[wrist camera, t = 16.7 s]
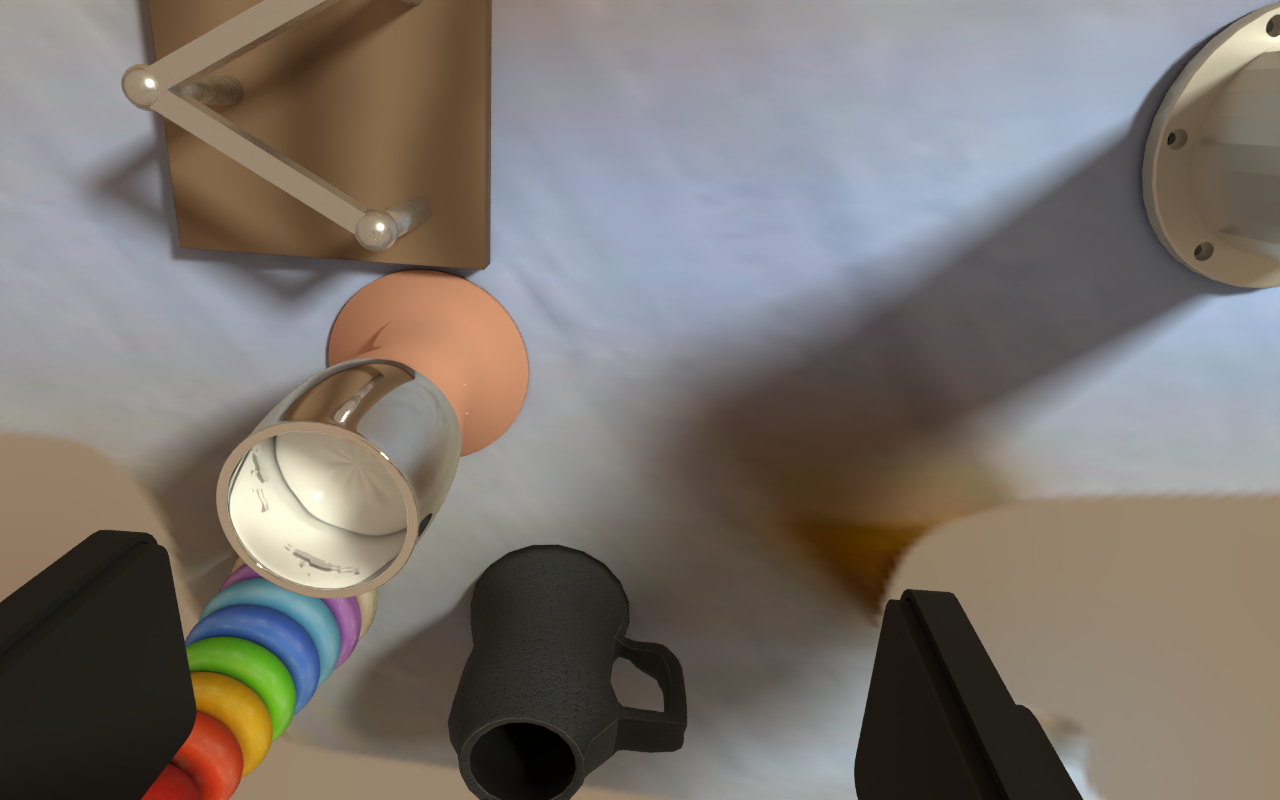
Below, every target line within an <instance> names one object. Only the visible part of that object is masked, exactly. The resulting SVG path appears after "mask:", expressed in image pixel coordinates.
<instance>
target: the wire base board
mask: <svg viewBox="0 0 1280 800" xmlns="http://www.w3.org/2000/svg"><path fill="white" fill-rule="evenodd" d="M262 1H263V0H148V3H149V10H150V18H151V26H152V33H153V41H154V49H155V56H156V62H157V61H159V60H160V59H162V58H164V57H166V56H167V55H169V54H171V53H173V52H174V51H176V50H178V49H180V48H181V47H183V46H185V45H187V44H188V43H190V42H192V41H193V40H195V39H197V38H199V37H200V36H202V35H204V34H206V33H207V32H209V31H211V30H213V29H214V28H216V27H218V26H220V25H221V24H223V23H225V22H227V21H228V20H230V19H232V18H234V17H235V16H237V15H239V14H241V13H242V12H244V11H246V10H248V9H249V8H251V7H253V6H255V5H256V4H258V3H260V2H262ZM491 26H492V0H424V1H423V2H422V3H420V4H418V5H410V4H408V3H405V2H403V1H400V0H340V1H338V2H336V3H335V4H333V5H331V6H329V7H328V8H326V9H324V10H322V11H320V12H319V13H317V14H315V15H313V16H312V17H310V18H308V19H306V20H304V21H303V22H301V23H299V24H297V25H295V26H294V27H292V28H290V29H288V30H287V31H285V32H283V33H281V34H279V35H278V36H276V37H274V38H272V39H271V40H269V41H267V42H265V43H263V44H262V45H260V46H258V47H256V48H255V49H253V50H251V51H249V52H247V53H246V54H244V55H242V56H240V57H239V58H237V59H235V60H233V61H231V62H230V63H228V64H226V65H224V66H223V67H221V68H219V69H217V70H215V71H214V72H212V73H210V74H214V75H229V76H232V77H234V78H236V79H237V80H238V81H239V82H240V83H241V85H242V87H243V92H244V94H243V98H242V100H241V102H239V103H238V104H236V105H205V106H207V107H208V108H210V109H212V110H213V111H215V112H216V113H218V114H219V115H221V116H223V117H224V118H226V119H227V120H229V121H231V122H232V123H234V124H235V125H237V126H239V127H240V128H242V129H243V130H245V131H246V132H248V133H250V134H251V135H253V136H254V137H256V138H258V139H259V140H261V141H262V142H264V143H266V144H267V145H269V146H270V147H272V148H274V149H275V150H277V151H278V152H280V153H281V154H283V155H285V156H286V157H288V158H289V159H291V160H293V161H294V162H296V163H297V164H299V165H301V166H302V167H304V168H305V169H307V170H309V171H310V172H312V173H313V174H315V175H316V176H318V177H320V178H321V179H323V180H324V181H326V182H328V183H329V184H331V185H332V186H334V187H336V188H337V189H339V190H340V191H342V192H344V193H345V194H347V195H348V196H350V197H351V198H353V199H355V200H356V201H358V202H359V203H361V204H363V205H364V206H366V207H367V208H369V209H380V210H383V209H386V208H388V207H391V206H393V205H395V204H398V203H400V202H403V201H405V200H408V199H410V198H413V197H421V198H423V199H425V200H426V201H427V202H428V203H429V204H430V207H431V216H430V218H429V220H428V221H427V222H425V223H423V224H421V225H419V226H418V227H416V228H414V229H412V230H410V231H408V232H407V233H405V234H403V235H401V236H399V237H397V239H396V241H395V243H394V244H393V245H392V246H391V247H390V248H388V249H386V250H384V251H371V250H368V249H366V248H365V247H363V246H362V245H361V244H360V243H359V242H358V240H357V239H356V236H355V234H353V233H352V232H350V231H348V230H347V229H345V228H344V227H342V226H340V225H339V224H337V223H335V222H334V221H332V220H331V219H329V218H327V217H326V216H324V215H323V214H321V213H319V212H318V211H316V210H314V209H313V208H311V207H310V206H308V205H306V204H305V203H303V202H302V201H300V200H298V199H297V198H295V197H293V196H292V195H290V194H289V193H287V192H285V191H284V190H282V189H281V188H279V187H277V186H276V185H274V184H273V183H271V182H269V181H268V180H266V179H264V178H263V177H261V176H260V175H258V174H256V173H255V172H253V171H252V170H250V169H248V168H247V167H245V166H243V165H242V164H240V163H239V162H237V161H235V160H234V159H232V158H231V157H229V156H227V155H226V154H224V153H222V152H221V151H219V150H218V149H216V148H214V147H213V146H211V145H210V144H208V143H206V142H205V141H203V140H201V139H200V138H198V137H197V136H195V135H193V134H192V133H190V132H189V131H187V130H185V129H184V128H182V127H181V126H179V125H177V124H176V123H174V122H172V121H171V120H169V119H168V118H166V117H164V116H163V117H164V125H165V133H166V140H167V148H168V156H169V163H170V171H171V179H172V186H173V194H174V202H175V209H176V217H177V224H178V232H179V240H180V247H181V248H192V249H206V250H219V251H233V252H247V253H261V254H274V255H288V256H302V257H315V258H329V259H343V260H357V261H370V262H384V263H398V264H411V265H425V266H439V267H453V268H466V269H480V270H484V269H485V268H486V267H487V266H488V265H489V264H490V189H491Z"/></svg>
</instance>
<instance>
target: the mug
mask: <svg viewBox="0 0 1280 800" xmlns="http://www.w3.org/2000/svg"><path fill="white" fill-rule="evenodd" d="M628 625H629V602H628V599H627V597H626V594H625V592H624V590H623V587H622V585H621V582H620V581H619V580H618V579H617V577H616V576H615V575H614V574H613V573H612V572H611V571H610V570H609V569H608V567H607V566H606V565H605V564H604V563H602V562H600V561H598V560H597V559H595V558H593V557H592V556H590V555H588V554H587V553H585V552H583V551H580V550H576V549H572V548H568V547H565V546H561V545H532V546H528V547H525V548H522V549H519V550H515V551H512V552H509V553H507V554H506V555H504V556H503V557H501V558H500V559H499V560H497V561H496V562H494V563H493V564H491V565H490V566H489V567H488V568H487V570H486V571H485V572H484V574H483V575H482V577H481V578H480V579H479V581H478V582H477V583H476V587H475V590H474V594H473V598H472V602H471V628H472V637H473V644H474V647H473V650H472V652H471V654H470V656H469V658H468V660H467V662H466V664H465V667H464V670H463V673H462V676H461V679H460V683H459V686H458V689H457V692H456V695H455V698H454V701H453V705H452V709H451V712H450V716H449V720H448V727H449V734H450V741H451V744H452V745H453V747H454V749H455V751H456V753H457V754H458V760H459V768H460V773H461V776H462V778H463V780H464V782H465V783H466V785H467V787H468V789H469V790H470V791H471V792H472V793H473V794H474V795H475V796H476V797H477V798H478V799H480V800H570V799H571V797H572V796H573V795H574V794H575V793H576V792H577V791H578V789H579V788H580V787H581V786H582V784H583V781H584V778H585V777H586V776H587V775H588V774H589V773H591V772H592V771H593V770H595V769H596V768H597V767H599V766H600V765H601V764H602V763H604V762H605V761H606V760H608V759H609V758H610V757H612V756H613V755H614V754H615V752H616V751H618V750H630V751H639V752H649V753H652V752H674V751H676V750H678V749H680V748H682V745H683V742H684V732H685V729H686V727H687V704H686V694H685V684H684V678H683V672H682V667H681V665H680V662H679V660H678V659H677V658H676V656H675V655H674V654H673V653H672V652H671V651H670V650H669V649H668V648H667V647H665V646H664V645H661V644H657V643H649V642H639V641H633V640H630V639H628V638H626V637H624V636H625V633H626V630H627V628H628ZM618 657H623V658H625V659H628V660H630V661H631V662H632V663H633V664H634V665H635V666H636V667H637V668H638V669H640V670H641V671H643V672H644V673H646V674H648V675H649V676H651V677H653V678H654V679H656V680H657V682H658V684H659V686H660V688H661V689H662V692H663V696H664V712H657V711H650V710H642V709H635V708H630V707H623V706H622V705H621V704H620V703H619V702H618V700H617V698H616V695H615V693H614V690H613V687H612V685H611V682H610V679H611V672H612V664H613V662H614V661H615V660H616V659H617V658H618Z"/></svg>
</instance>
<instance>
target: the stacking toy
mask: <svg viewBox="0 0 1280 800" xmlns="http://www.w3.org/2000/svg"><path fill="white" fill-rule="evenodd" d="M376 606H377V594H376V589H374V590H372V591H369V592H367V593H364V594H361V595H357V596H353V597H347V598H336V599H326V598H315V597H309V596H304V595H300V594H297V593H294V592H291V591H288V590H286V589H283V588H281V587H279V586H277V585H275V584H273V583H271V582H269V581H268V580H266V579H265V578H263V577H262V576H260V575H259V574H257V573H256V572H255V571H254V570H252V569H251V568H250V567H249V566H248V565H247V564H246V563H245V562H244V561H243V560H242V559H241V558H240V557H238V559H237V560H236V562H235V564H234V566H233V569H232V572H231V575H230V576H229V577H228V578H227V580H226V581H225V582H224V584H223V585H222V587H221V589H220V591H219V593H218V594H216V595H215V596H214V597H213V598H212V599H211V600H210V601H209V603H208V604H207V605H206V607H205V608H204V610H203V612H202V614H201V617H200V619H199V622H198V623H197V624H196V625H195V626H194V628H193V629H192V630H191V632H190V633H189V635H188V636H187V638H186V641H185V647H186V652H187V658H188V663H189V669H190V674H191V679H192V685H193V690H194V696H195V701H196V708H197V714H196V721H195V724H194V727H193V730H192V732H191V734H190V736H189V737H188V739H187V740H186V742H185V743H184V744H183V746H182V747H181V748H180V749H179V751H178V752H177V753H176V755H175V756H174V757H173V759H172V760H171V761H170V762H169V764H168V765H167V766H166V768H165V769H164V770H163V772H162V773H161V774H160V776H159V777H158V778H157V779H156V781H155V782H154V783H153V785H152V786H151V787H150V789H149V790H148V791H147V792H146V794H145V795H144V796H143V798H142V799H141V800H228V799H229V798H230V797H231V796H232V795H233V793H234V792H235V790H236V789H237V787H238V785H239V783H240V780H241V778H242V777H244V776H246V775H247V774H249V773H250V772H251V771H253V770H254V769H255V768H256V767H257V766H258V765H259V764H260V763H261V762H262V760H263V759H264V758H265V756H266V754H267V752H268V750H269V748H270V745H271V743H272V742H273V741H275V740H276V739H277V738H278V737H279V736H280V735H281V734H282V733H283V732H284V731H285V729H286V728H287V726H288V725H289V723H290V721H291V719H292V716H294V715H295V714H297V713H298V712H299V711H300V710H301V709H302V708H303V707H304V706H305V705H306V704H307V703H308V702H309V701H310V699H311V698H312V696H313V694H314V692H315V690H316V688H317V687H319V686H320V685H321V684H322V683H323V682H324V681H325V680H326V679H327V678H328V677H329V676H330V674H331V673H332V672H333V670H334V669H336V668H337V667H339V666H340V665H341V664H342V663H343V662H344V661H345V660H346V659H347V658H348V657H349V656H350V655H351V653H352V652H353V650H354V648H355V647H356V644H357V642H358V641H359V640H360V639H361V638H362V637H363V636H364V635H365V633H366V632H367V631H368V629H369V627H370V626H371V624H372V622H373V619H374V616H375V612H376Z"/></svg>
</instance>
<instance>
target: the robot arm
mask: <svg viewBox="0 0 1280 800" xmlns="http://www.w3.org/2000/svg"><path fill="white" fill-rule="evenodd" d="M1169 135H1170V139H1169V141H1168V142H1167V140H1168V137H1169ZM1142 188H1143V200H1144V204H1145V207H1146V211H1147V215H1148V219H1149V222H1150V224H1151V226H1152V228H1153V230H1154V232H1155V234H1156V236H1157V238H1158V239H1159V241H1160V243H1161V244H1162V245H1163V246H1164V247H1165V248H1166V250H1167V251H1168V252H1169V253H1170V254H1171V255H1172V257H1173V258H1174V259H1176V260H1177V261H1178V262H1180V263H1181V264H1183V265H1184V266H1185V267H1187V268H1188V269H1190V270H1191V271H1192V272H1195V273H1197V274H1200V275H1202V276H1204V277H1207V278H1209V279H1212V280H1215V281H1218V282H1222V283H1226V284H1230V285H1233V286H1237V287H1250V288H1270V287H1279V286H1280V1H1278V2H1275V3H1272V4H1269V5H1266V6H1264V7H1262V8H1260V9H1258V10H1256V11H1254V12H1252V13H1250V14H1249V15H1247V16H1245V17H1243V18H1241V19H1239V20H1237V21H1236V22H1234V23H1233V24H1232V25H1230V26H1229V27H1228V28H1226V29H1225V30H1224V31H1222V32H1221V33H1220V34H1218V35H1217V36H1216V37H1214V38H1213V39H1211V40H1210V41H1209V42H1208V43H1207V44H1206V45H1205V46H1204V47H1203V48H1202V49H1201V50H1200V51H1199V52H1198V53H1197V54H1196V55H1195V56H1194V57H1193V58H1192V60H1191V61H1190V62H1189V63H1188V64H1187V65H1186V66H1185V68H1184V69H1183V71H1182V72H1181V73H1180V75H1179V76H1178V77H1177V79H1176V80H1175V82H1174V83H1173V84H1172V86H1171V87H1170V88H1169V90H1168V92H1167V94H1166V96H1165V98H1164V100H1163V102H1162V104H1161V106H1160V107H1159V109H1158V111H1157V113H1156V115H1155V118H1154V121H1153V124H1152V127H1151V130H1150V133H1149V136H1148V139H1147V142H1146V146H1145V153H1144V160H1143V167H1142ZM196 714H197V708H196V701H195V696H194V690H193V685H192V679H191V674H190V669H189V663H188V658H187V652H186V647H185V641H184V636H183V631H182V625H181V620H180V615H179V609H178V603H177V599H176V593H175V587H174V582H173V576H172V571H171V565H170V560H169V555H168V552H167V550H166V549H165V548H164V547H163V546H161V545H158V544H157V541H156V540H155V538H154V537H153V536H152V535H150V534H148V533H142V532H129V531H116V530H99V531H97V532H95V533H93V534H92V535H90V536H89V537H88V538H86V539H85V540H84V541H82V542H81V543H80V544H78V545H77V546H76V547H74V548H73V549H72V550H70V551H69V552H67V553H66V554H65V555H63V556H62V557H61V558H60V559H58V560H57V561H55V562H54V563H53V564H51V565H50V566H49V567H47V568H46V569H45V570H43V571H42V572H41V573H39V574H38V575H37V576H35V577H34V578H32V579H31V580H30V581H28V582H27V583H26V584H24V585H23V586H22V587H20V588H19V589H18V590H16V591H15V592H14V593H12V594H11V595H10V596H9V597H7V598H6V599H4V600H3V601H2V602H0V800H141V799H142V798H143V796H144V795H145V794H146V792H147V791H148V790H149V789H150V787H151V786H152V785H153V783H154V782H155V781H156V779H157V778H158V777H159V776H160V774H161V773H162V772H163V770H164V769H165V768H166V766H167V765H168V764H169V762H170V761H171V760H172V759H173V757H174V756H175V755H176V753H177V752H178V751H179V749H180V748H181V747H182V746H183V744H184V743H185V742H186V740H187V739H188V737H189V736H190V734H191V732H192V730H193V727H194V724H195V721H196ZM854 778H855V788H856V793H857V797H858V800H1083V798H1082V797H1081V795H1080V793H1079V791H1078V790H1077V788H1076V786H1075V784H1074V783H1073V781H1072V779H1071V777H1070V776H1069V774H1068V772H1067V771H1066V769H1065V767H1064V765H1063V764H1062V762H1061V760H1060V758H1059V757H1058V755H1057V753H1056V751H1055V750H1054V748H1053V746H1052V744H1051V743H1050V741H1049V739H1048V737H1047V736H1046V734H1045V732H1044V730H1043V729H1042V727H1041V725H1040V723H1039V722H1038V720H1037V719H1036V717H1035V716H1034V715H1033V713H1032V712H1031V711H1030V710H1029V709H1028V708H1026V707H1024V706H1023V705H1016V704H1015V702H1014V701H1013V699H1012V697H1011V695H1010V693H1009V692H1008V690H1007V688H1006V686H1005V685H1004V683H1003V681H1002V679H1001V677H1000V675H999V674H998V672H997V670H996V668H995V667H994V665H993V663H992V661H991V659H990V657H989V656H988V654H987V652H986V650H985V648H984V646H983V645H982V643H981V641H980V639H979V637H978V636H977V634H976V632H975V630H974V628H973V626H972V625H971V623H970V621H969V619H968V617H967V616H966V614H965V612H964V610H963V608H962V607H961V605H960V603H959V601H958V599H957V598H956V597H955V595H954V594H953V593H950V592H940V591H926V590H913V589H907V590H905V591H904V592H903V594H902V596H901V599H900V600H892V599H891V600H889V601H888V603H887V605H886V608H885V612H884V617H883V622H882V627H881V632H880V637H879V643H878V648H877V653H876V658H875V663H874V668H873V673H872V678H871V683H870V688H869V693H868V698H867V703H866V708H865V713H864V718H863V723H862V728H861V733H860V738H859V743H858V748H857V753H856V758H855V767H854Z"/></svg>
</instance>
